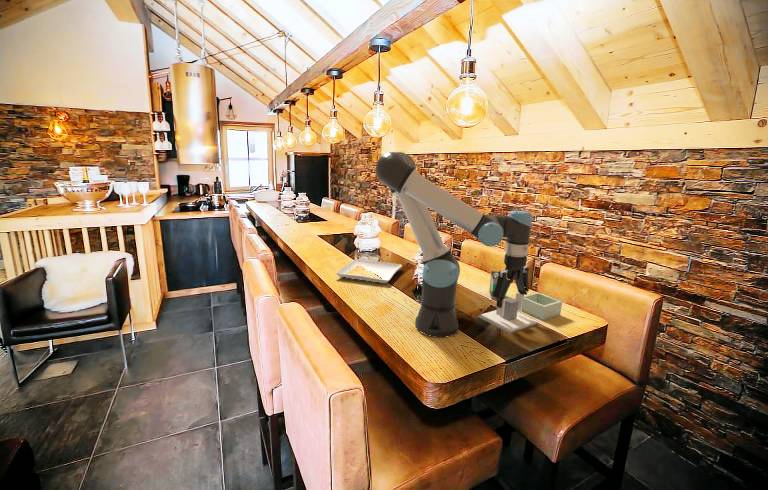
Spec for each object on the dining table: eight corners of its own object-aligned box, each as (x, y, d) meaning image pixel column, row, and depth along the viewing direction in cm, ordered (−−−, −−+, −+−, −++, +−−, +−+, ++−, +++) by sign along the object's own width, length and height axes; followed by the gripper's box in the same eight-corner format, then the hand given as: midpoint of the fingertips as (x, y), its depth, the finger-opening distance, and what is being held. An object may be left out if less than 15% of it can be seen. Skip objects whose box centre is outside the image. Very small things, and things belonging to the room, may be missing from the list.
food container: (506, 302, 150) (509, 280, 148) (491, 301, 151) (493, 279, 149) (503, 292, 162) (505, 271, 159) (489, 291, 163) (491, 270, 160)
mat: (511, 335, 122) (511, 334, 122) (476, 317, 135) (476, 316, 135) (540, 325, 130) (540, 324, 130) (505, 309, 143) (505, 308, 143)
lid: (510, 332, 123) (513, 311, 121) (480, 316, 135) (482, 297, 133) (536, 323, 130) (539, 303, 128) (505, 309, 142) (507, 290, 140)
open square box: (542, 321, 133) (544, 306, 132) (518, 310, 142) (519, 296, 141) (560, 315, 139) (562, 301, 137) (535, 305, 148) (537, 292, 146)
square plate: (334, 280, 172) (334, 272, 172) (355, 264, 198) (355, 258, 197) (388, 287, 165) (388, 279, 164) (402, 270, 190) (402, 263, 189)
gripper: (503, 260, 118) (496, 323, 123) (544, 253, 129) (536, 310, 134) (486, 255, 124) (480, 314, 129) (527, 248, 135) (519, 303, 140)
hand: (508, 312), depth 132 cm, fingers open, 9 cm apart
